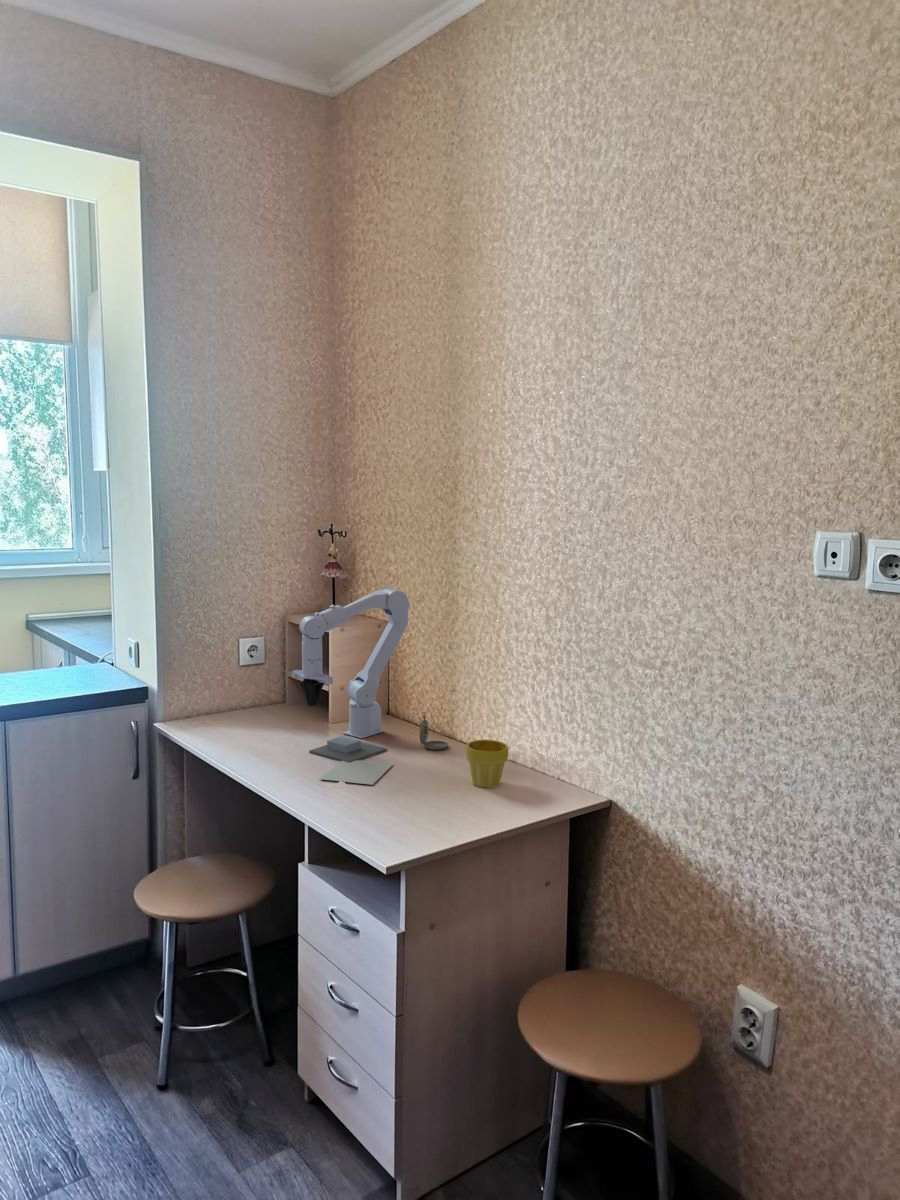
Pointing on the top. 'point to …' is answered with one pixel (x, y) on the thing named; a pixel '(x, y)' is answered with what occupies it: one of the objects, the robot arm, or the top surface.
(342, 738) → the blue-grey rectangular block
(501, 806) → the top surface
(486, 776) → the plant pot
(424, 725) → the pocket watch
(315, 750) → the mat
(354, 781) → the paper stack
